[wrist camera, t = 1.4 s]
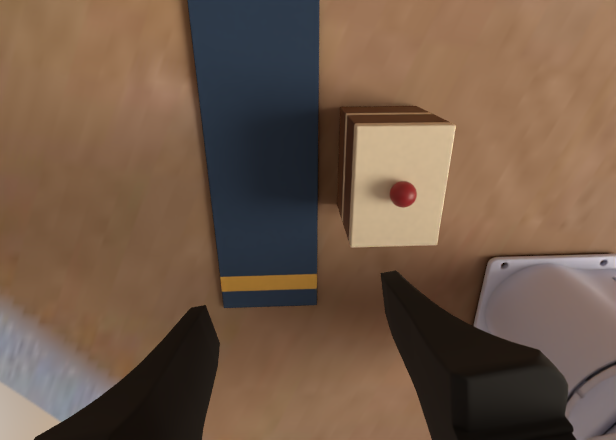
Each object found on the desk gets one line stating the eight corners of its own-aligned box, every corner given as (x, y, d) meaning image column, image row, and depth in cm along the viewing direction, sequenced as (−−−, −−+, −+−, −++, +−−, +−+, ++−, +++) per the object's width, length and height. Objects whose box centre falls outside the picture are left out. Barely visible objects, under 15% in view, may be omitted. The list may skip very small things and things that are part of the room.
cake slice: (416, 105, 22) (467, 129, 15) (405, 203, 24) (445, 256, 18) (340, 106, 21) (361, 131, 15) (336, 204, 24) (353, 259, 18)
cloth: (319, -81, 18) (320, -83, 17) (316, 302, 27) (316, 305, 27) (179, -82, 17) (177, -85, 17) (224, 305, 27) (223, 308, 26)
